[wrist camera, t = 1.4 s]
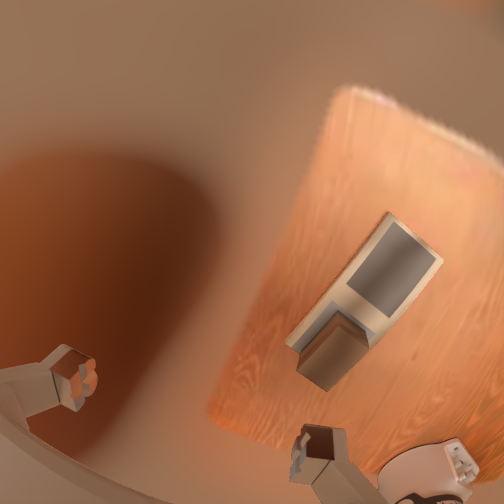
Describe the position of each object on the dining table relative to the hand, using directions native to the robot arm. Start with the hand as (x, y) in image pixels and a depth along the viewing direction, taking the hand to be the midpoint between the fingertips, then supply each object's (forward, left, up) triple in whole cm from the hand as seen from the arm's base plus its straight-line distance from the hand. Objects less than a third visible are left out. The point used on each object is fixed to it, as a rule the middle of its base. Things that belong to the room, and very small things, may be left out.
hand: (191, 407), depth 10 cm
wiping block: (-10, +4, -26) cm, 29 cm away
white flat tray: (-10, -2, -28) cm, 30 cm away
